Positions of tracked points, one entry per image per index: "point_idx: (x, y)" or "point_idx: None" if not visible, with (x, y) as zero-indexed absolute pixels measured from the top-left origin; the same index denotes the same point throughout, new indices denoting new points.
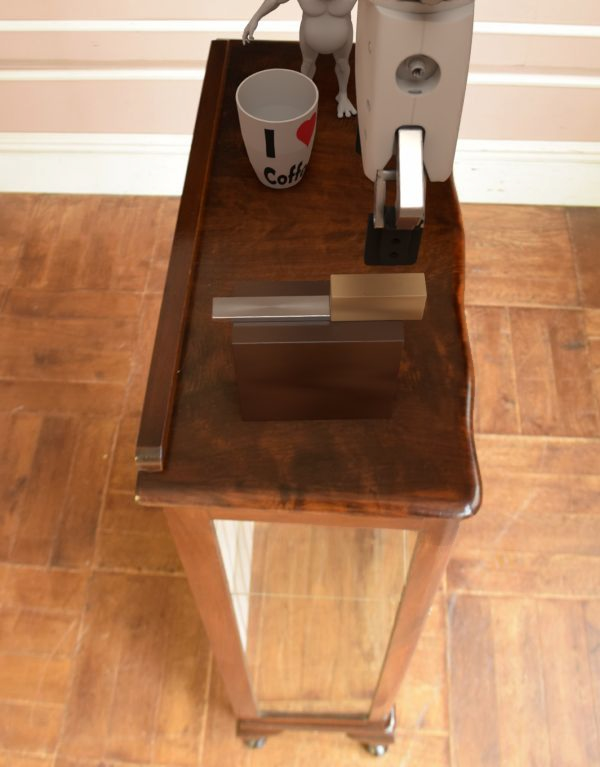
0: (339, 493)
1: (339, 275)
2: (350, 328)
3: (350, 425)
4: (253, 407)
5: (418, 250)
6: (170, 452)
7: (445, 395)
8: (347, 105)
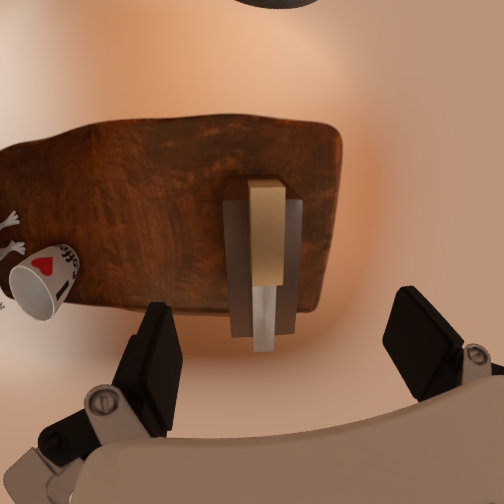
0: (333, 212)
1: (254, 279)
2: (286, 249)
3: None
4: None
5: (426, 299)
6: None
7: (258, 131)
8: (11, 218)
